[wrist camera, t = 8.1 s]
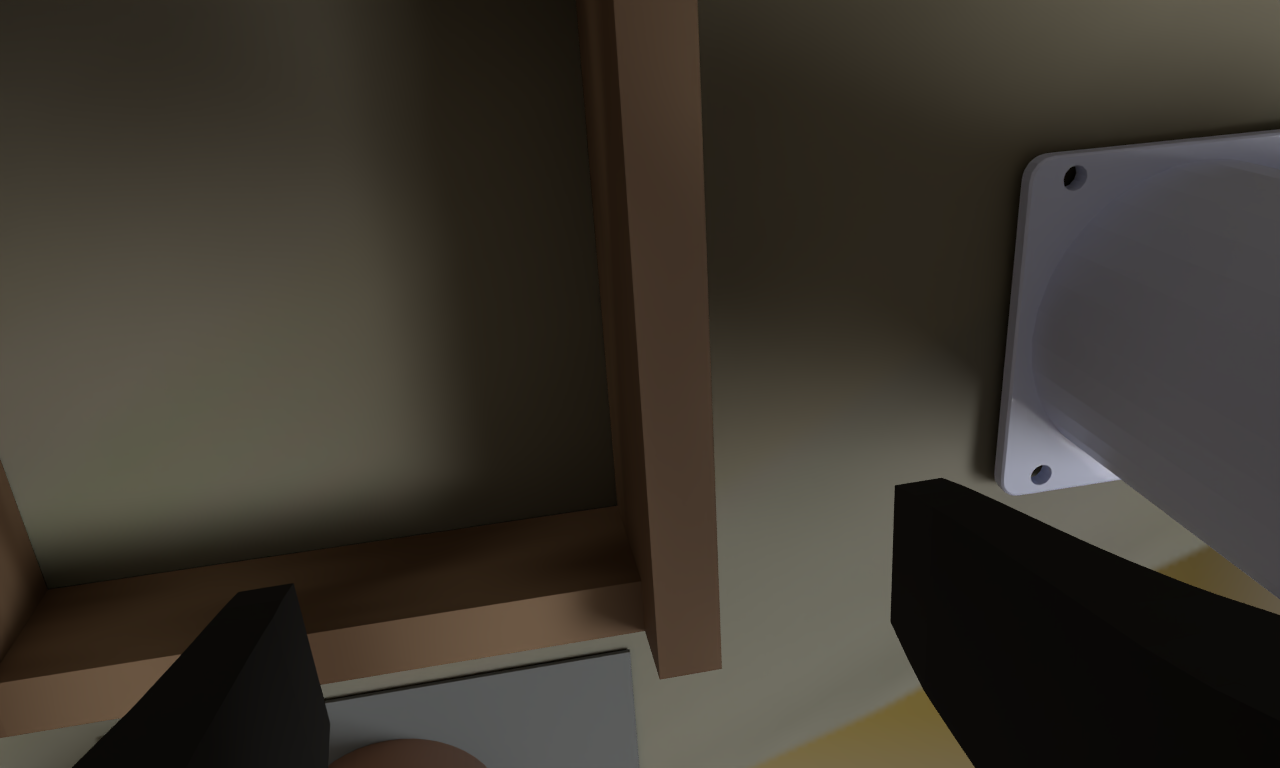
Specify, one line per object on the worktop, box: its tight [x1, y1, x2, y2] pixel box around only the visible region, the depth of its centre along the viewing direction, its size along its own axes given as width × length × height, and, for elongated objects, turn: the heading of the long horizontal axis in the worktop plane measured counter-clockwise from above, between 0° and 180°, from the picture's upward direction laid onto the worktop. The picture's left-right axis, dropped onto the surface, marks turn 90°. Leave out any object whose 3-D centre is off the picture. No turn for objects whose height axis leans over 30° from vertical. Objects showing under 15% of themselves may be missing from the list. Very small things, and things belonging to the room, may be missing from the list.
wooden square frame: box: [0, 0, 722, 738], centre depth 17 cm, size 14×14×4 cm
